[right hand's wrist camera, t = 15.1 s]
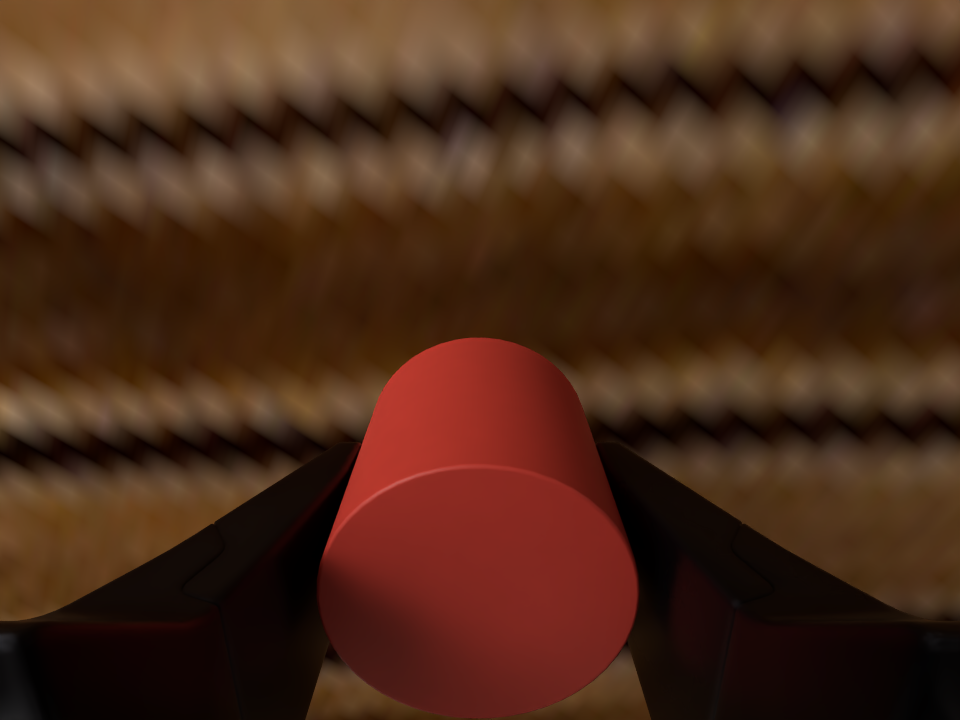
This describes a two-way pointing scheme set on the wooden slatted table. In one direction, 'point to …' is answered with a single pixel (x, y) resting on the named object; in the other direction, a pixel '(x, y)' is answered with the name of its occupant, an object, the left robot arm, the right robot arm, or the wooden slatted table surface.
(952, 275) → the wooden slatted table surface
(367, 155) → the wooden slatted table surface
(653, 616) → the right robot arm
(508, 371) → the canister
